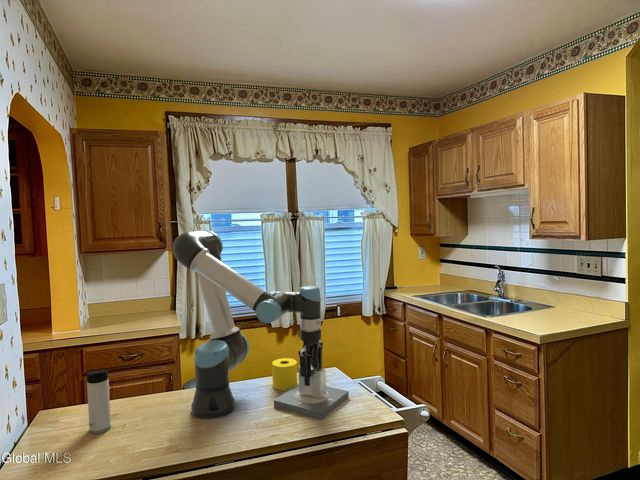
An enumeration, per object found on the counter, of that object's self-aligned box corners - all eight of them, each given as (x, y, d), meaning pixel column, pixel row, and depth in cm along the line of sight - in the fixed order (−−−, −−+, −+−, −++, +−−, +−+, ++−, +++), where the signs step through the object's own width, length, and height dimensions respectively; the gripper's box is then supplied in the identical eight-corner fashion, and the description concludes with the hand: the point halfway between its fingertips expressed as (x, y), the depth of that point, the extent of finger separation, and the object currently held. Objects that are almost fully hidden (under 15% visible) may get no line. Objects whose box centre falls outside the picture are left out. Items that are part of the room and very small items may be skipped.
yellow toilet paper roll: (302, 384, 177) (301, 361, 176) (285, 392, 169) (285, 368, 168) (284, 378, 183) (283, 356, 182) (267, 386, 175) (266, 363, 174)
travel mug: (89, 436, 138) (86, 375, 136) (89, 427, 143) (86, 368, 142) (111, 431, 140) (108, 371, 139) (110, 422, 146) (107, 365, 145)
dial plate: (273, 406, 156) (273, 399, 156) (304, 387, 173) (304, 380, 173) (321, 420, 146) (321, 412, 146) (348, 397, 163) (348, 390, 163)
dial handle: (299, 393, 160) (298, 367, 159) (304, 390, 163) (303, 364, 163) (320, 398, 155) (320, 371, 155) (326, 395, 158) (325, 368, 158)
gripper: (306, 336, 149) (308, 402, 150) (331, 324, 163) (331, 385, 164) (289, 333, 152) (290, 397, 154) (314, 322, 167) (315, 381, 168)
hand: (311, 391), depth 159 cm, fingers closed on dial handle, 4 cm apart
